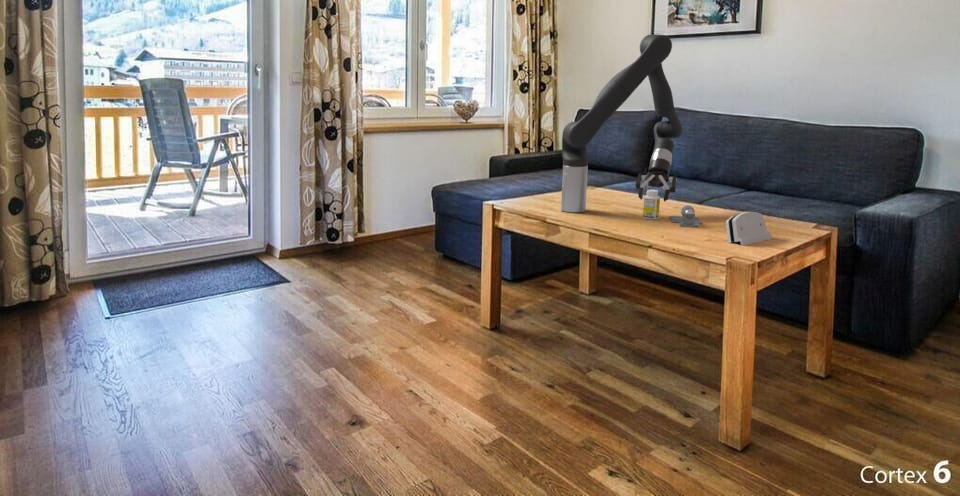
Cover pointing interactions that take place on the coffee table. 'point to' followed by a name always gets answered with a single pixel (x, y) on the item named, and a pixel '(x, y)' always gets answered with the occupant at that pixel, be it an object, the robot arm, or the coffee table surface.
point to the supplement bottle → (651, 205)
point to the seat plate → (681, 219)
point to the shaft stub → (688, 217)
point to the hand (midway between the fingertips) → (652, 199)
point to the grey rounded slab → (747, 228)
